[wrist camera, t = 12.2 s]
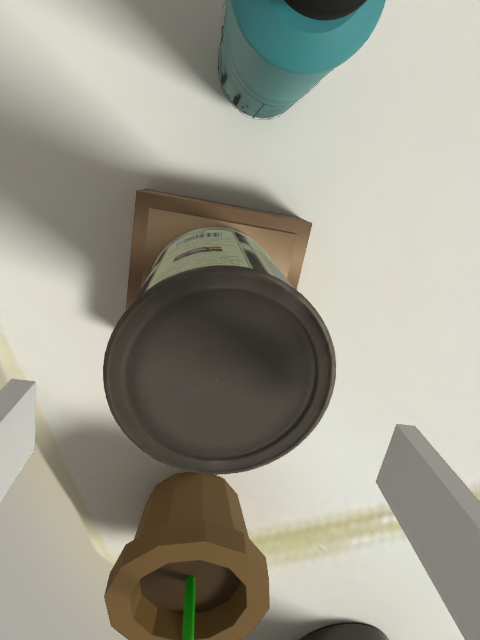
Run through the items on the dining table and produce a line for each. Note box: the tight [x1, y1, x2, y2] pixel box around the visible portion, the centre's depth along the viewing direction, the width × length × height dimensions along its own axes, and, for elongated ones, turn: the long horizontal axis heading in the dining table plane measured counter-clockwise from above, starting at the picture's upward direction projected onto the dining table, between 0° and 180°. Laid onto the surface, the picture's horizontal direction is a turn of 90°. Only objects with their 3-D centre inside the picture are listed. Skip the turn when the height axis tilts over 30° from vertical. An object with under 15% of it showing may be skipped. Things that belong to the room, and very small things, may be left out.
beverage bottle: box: [218, 0, 386, 120], centre depth 20 cm, size 6×7×20 cm
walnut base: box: [126, 189, 312, 310], centre depth 32 cm, size 13×13×4 cm
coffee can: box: [103, 227, 336, 474], centre depth 24 cm, size 10×10×14 cm
